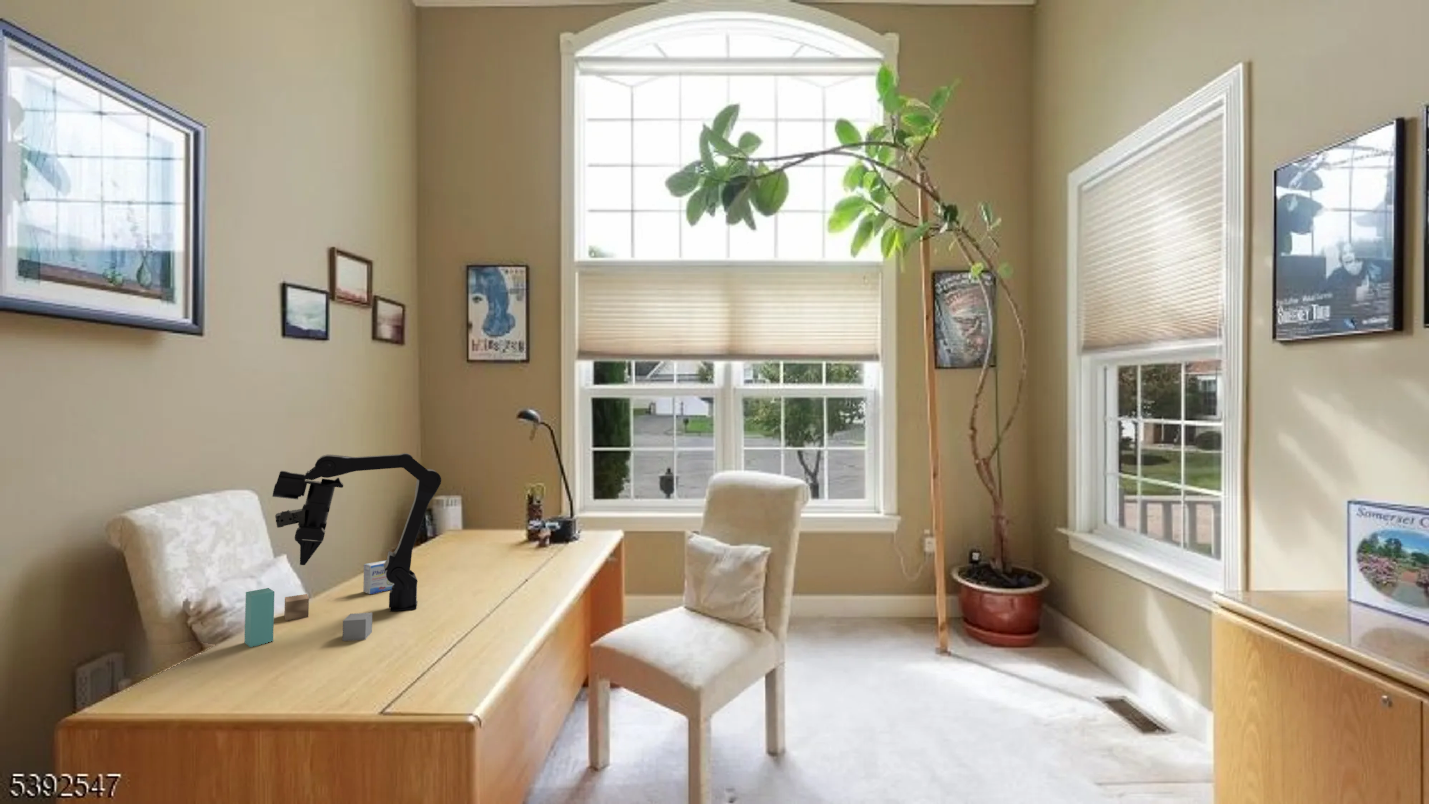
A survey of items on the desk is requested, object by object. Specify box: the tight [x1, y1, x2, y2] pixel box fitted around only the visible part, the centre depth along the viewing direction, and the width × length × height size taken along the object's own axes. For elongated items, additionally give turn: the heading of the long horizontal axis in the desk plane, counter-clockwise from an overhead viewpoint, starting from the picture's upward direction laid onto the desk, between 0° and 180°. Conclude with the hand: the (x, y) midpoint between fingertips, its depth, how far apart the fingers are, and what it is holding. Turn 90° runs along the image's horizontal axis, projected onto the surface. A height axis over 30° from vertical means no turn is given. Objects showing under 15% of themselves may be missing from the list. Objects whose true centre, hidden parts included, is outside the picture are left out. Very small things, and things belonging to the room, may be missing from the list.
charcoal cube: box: [342, 612, 373, 642], centre depth 150 cm, size 5×5×5 cm
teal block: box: [244, 587, 275, 648], centre depth 145 cm, size 4×4×12 cm
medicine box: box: [363, 559, 394, 595], centre depth 187 cm, size 8×4×9 cm, turn 143°
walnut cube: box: [283, 593, 310, 621], centre depth 164 cm, size 5×5×5 cm
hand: (303, 561), depth 160 cm, fingers open, 9 cm apart
